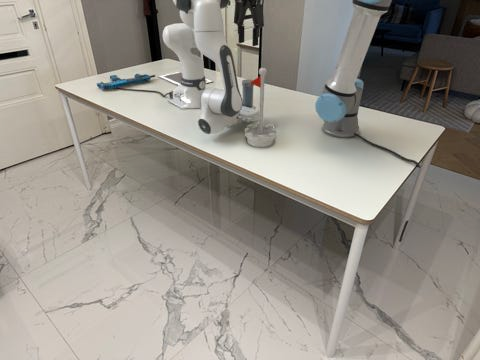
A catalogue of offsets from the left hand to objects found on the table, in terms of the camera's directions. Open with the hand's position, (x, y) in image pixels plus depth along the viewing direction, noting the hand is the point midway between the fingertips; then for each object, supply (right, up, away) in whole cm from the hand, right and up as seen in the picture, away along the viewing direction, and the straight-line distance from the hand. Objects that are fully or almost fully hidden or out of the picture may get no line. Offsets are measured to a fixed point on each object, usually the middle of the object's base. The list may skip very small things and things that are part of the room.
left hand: (248, 106), depth 157 cm
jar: (0, -6, +3) cm, 7 cm away
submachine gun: (-75, +26, +53) cm, 95 cm away
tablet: (-39, +29, +57) cm, 75 cm away
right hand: (-1, +23, -15) cm, 27 cm away
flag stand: (+4, -18, -15) cm, 24 cm away
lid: (-1, +9, -7) cm, 12 cm away
